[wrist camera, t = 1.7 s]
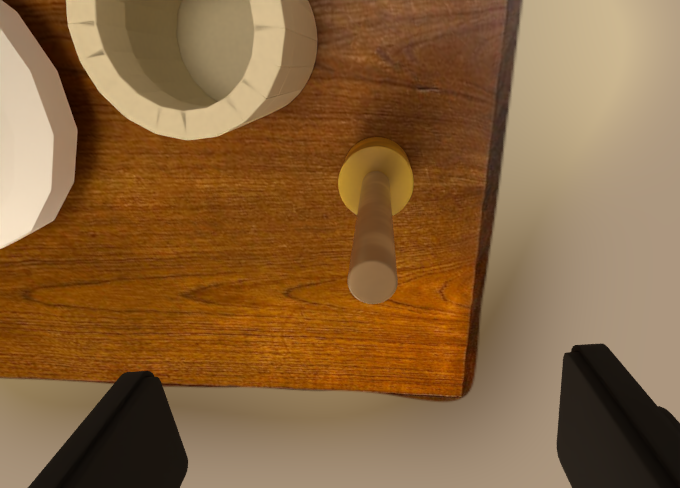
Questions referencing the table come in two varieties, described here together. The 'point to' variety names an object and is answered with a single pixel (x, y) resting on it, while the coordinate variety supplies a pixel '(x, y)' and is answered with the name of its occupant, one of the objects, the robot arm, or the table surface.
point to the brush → (374, 213)
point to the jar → (195, 59)
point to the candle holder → (31, 133)
